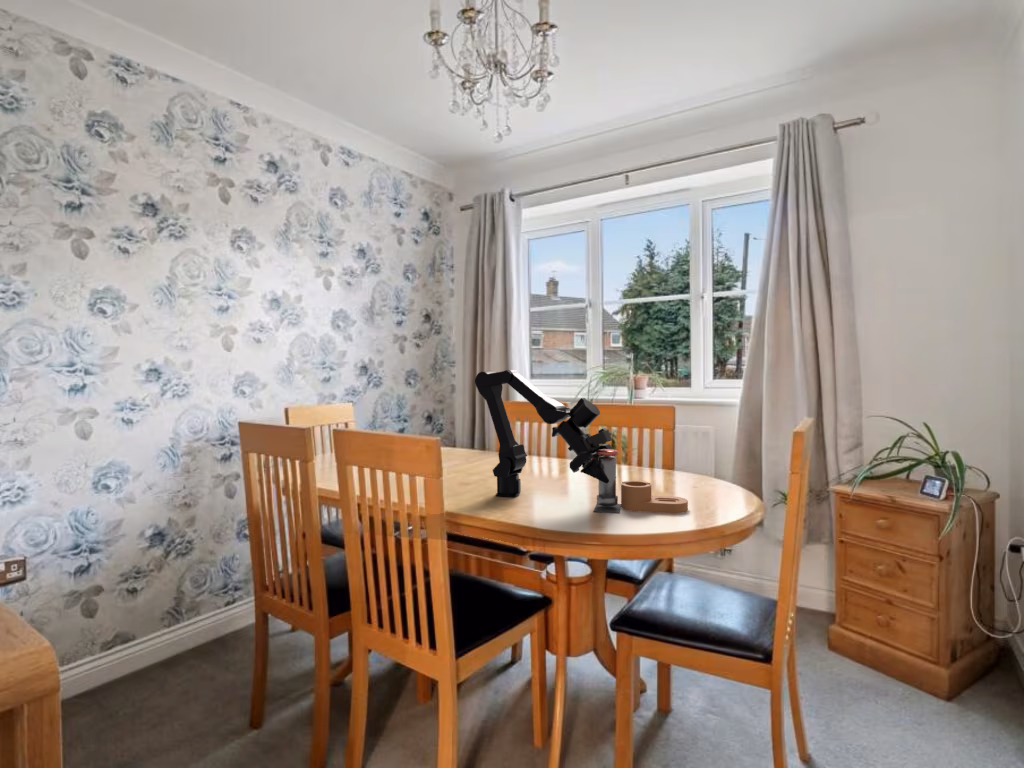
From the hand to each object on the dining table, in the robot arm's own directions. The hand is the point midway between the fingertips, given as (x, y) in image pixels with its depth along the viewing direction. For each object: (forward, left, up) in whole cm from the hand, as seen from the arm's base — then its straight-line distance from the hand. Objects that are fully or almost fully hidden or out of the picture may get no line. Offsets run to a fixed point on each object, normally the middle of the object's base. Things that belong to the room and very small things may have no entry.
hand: (611, 480), depth 157 cm
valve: (-1, 0, -7) cm, 7 cm away
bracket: (+11, +3, -8) cm, 14 cm away
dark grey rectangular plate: (-1, 0, -8) cm, 8 cm away
